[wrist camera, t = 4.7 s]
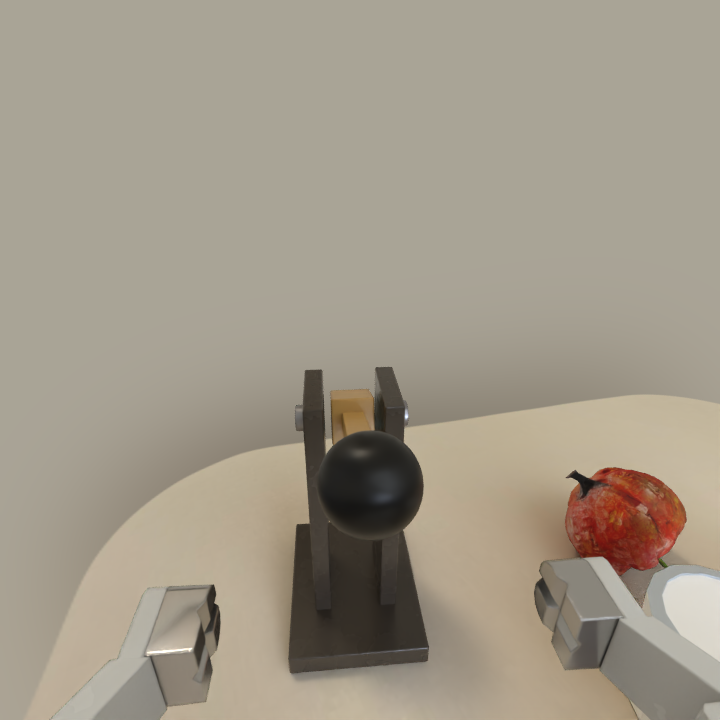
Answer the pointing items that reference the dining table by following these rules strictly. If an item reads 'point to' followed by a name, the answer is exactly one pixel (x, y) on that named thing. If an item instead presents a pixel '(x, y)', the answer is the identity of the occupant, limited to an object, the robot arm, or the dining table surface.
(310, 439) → the grey lever stand
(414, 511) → the latch lever
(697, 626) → the white cup
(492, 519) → the dining table surface
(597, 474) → the pomegranate
